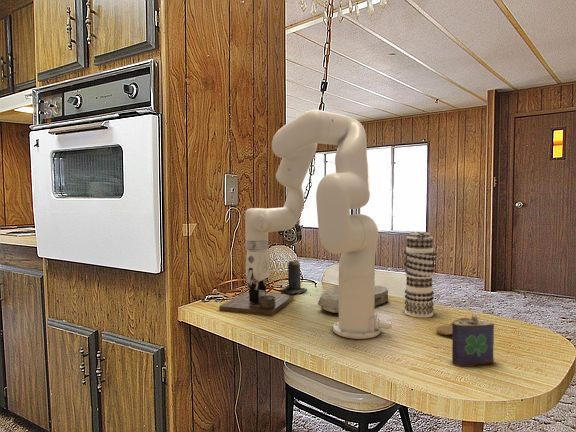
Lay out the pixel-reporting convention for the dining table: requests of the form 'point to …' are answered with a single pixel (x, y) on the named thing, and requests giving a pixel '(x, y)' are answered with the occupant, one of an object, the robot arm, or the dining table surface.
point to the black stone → (267, 302)
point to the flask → (472, 342)
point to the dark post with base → (294, 278)
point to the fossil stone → (331, 298)
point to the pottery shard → (449, 327)
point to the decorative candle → (419, 274)
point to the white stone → (261, 293)
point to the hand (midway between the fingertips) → (257, 298)
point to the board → (255, 304)
